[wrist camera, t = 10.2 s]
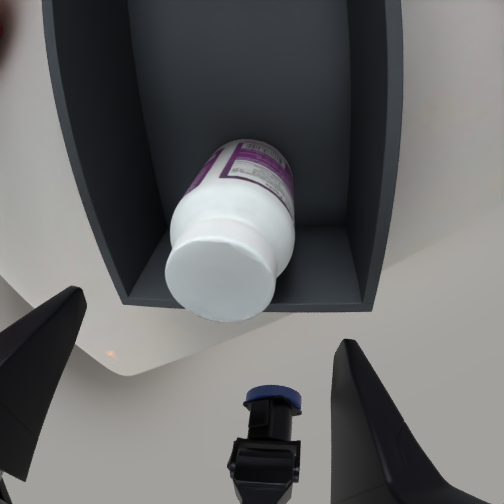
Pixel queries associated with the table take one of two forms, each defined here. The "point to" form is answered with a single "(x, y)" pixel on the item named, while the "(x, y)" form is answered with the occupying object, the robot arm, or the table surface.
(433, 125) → the table surface
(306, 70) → the open storage box
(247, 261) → the pill bottle
